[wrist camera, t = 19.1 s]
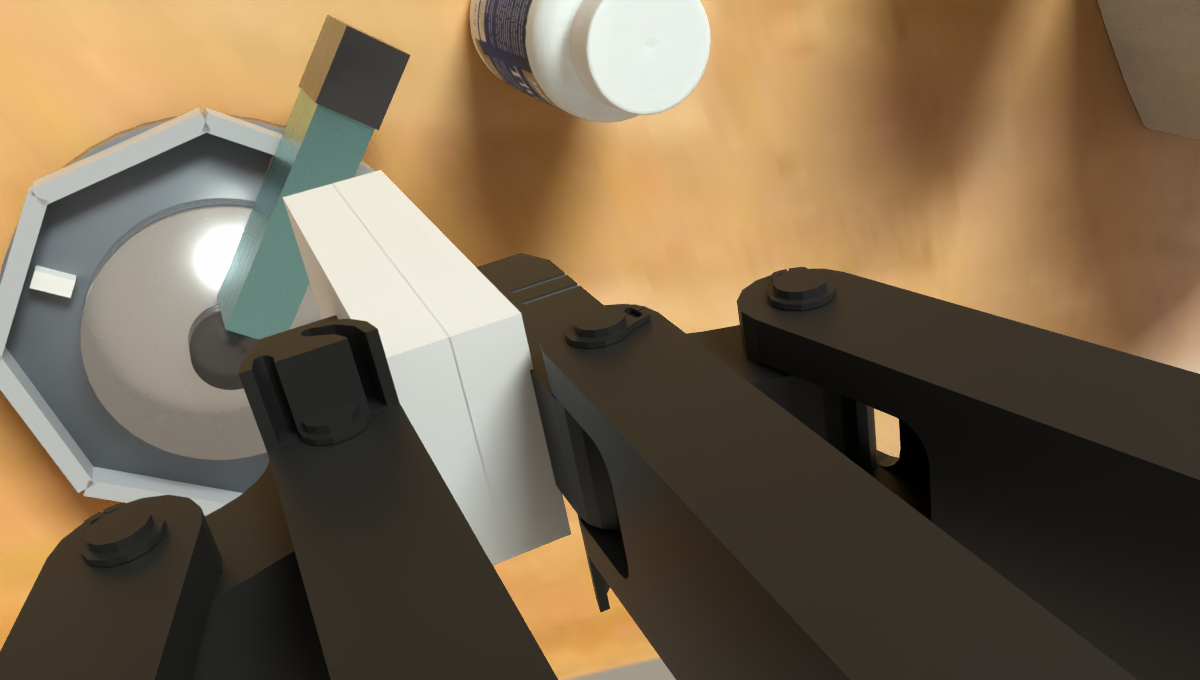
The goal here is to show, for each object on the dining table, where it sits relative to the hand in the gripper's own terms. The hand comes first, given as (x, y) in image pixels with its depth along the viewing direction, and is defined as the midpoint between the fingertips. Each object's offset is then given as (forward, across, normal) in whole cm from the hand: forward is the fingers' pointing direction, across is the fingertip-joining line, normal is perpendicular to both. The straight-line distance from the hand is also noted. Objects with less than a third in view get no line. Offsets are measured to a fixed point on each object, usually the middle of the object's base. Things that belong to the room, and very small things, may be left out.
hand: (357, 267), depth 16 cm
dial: (+21, -1, -5) cm, 22 cm away
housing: (+22, -3, -8) cm, 24 cm away
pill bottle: (+23, +11, -1) cm, 25 cm away
